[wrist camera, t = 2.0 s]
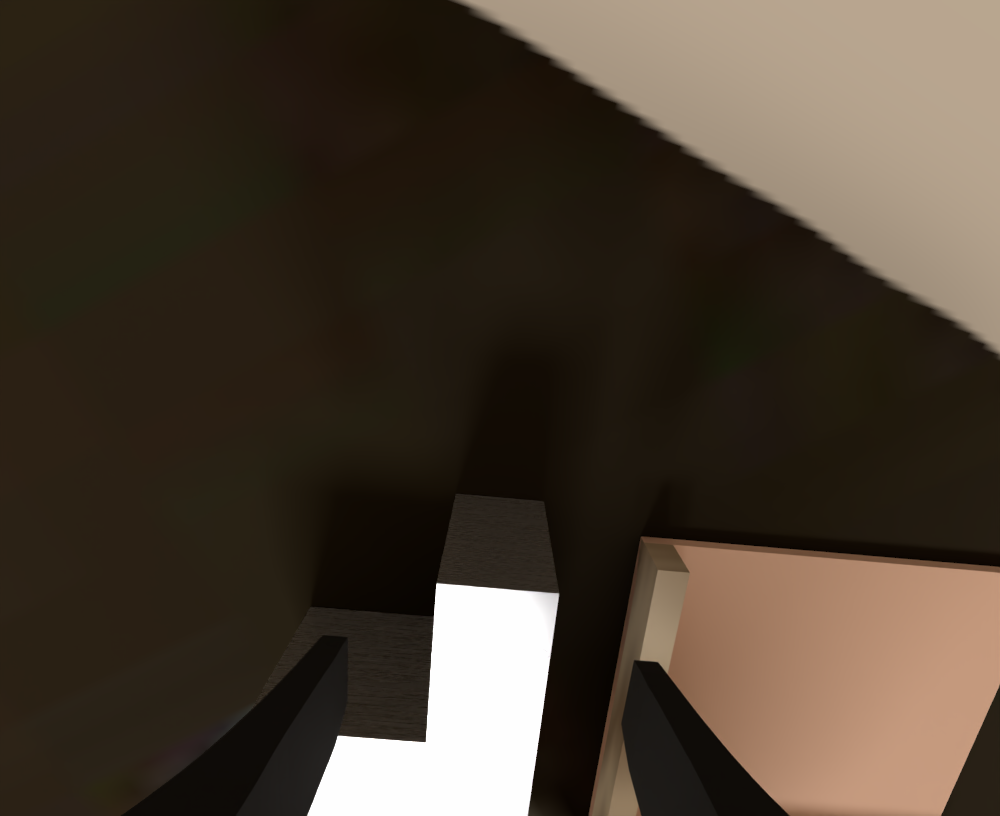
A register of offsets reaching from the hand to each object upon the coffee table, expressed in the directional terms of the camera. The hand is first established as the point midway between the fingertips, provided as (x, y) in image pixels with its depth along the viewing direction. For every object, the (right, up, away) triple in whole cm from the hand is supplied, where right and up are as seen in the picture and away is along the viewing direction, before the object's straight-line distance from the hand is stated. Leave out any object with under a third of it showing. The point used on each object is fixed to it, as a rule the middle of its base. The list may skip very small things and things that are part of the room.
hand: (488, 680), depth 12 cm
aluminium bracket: (-3, 0, +6) cm, 6 cm away
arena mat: (+11, -5, +7) cm, 14 cm away
